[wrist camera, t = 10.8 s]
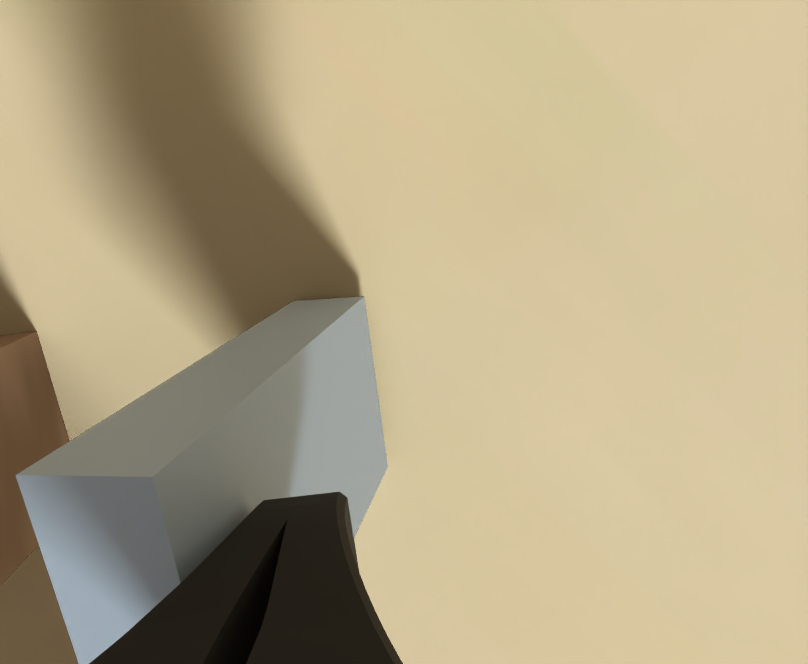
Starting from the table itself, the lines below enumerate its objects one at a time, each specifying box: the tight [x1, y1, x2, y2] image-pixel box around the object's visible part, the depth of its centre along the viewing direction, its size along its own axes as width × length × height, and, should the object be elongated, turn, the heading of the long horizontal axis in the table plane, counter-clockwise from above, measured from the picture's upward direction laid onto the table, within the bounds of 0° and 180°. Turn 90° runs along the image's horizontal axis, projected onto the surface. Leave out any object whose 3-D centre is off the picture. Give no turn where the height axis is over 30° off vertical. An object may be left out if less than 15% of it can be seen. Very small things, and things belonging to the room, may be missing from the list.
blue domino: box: [16, 296, 388, 664], centre depth 12 cm, size 5×2×9 cm, turn 6°
